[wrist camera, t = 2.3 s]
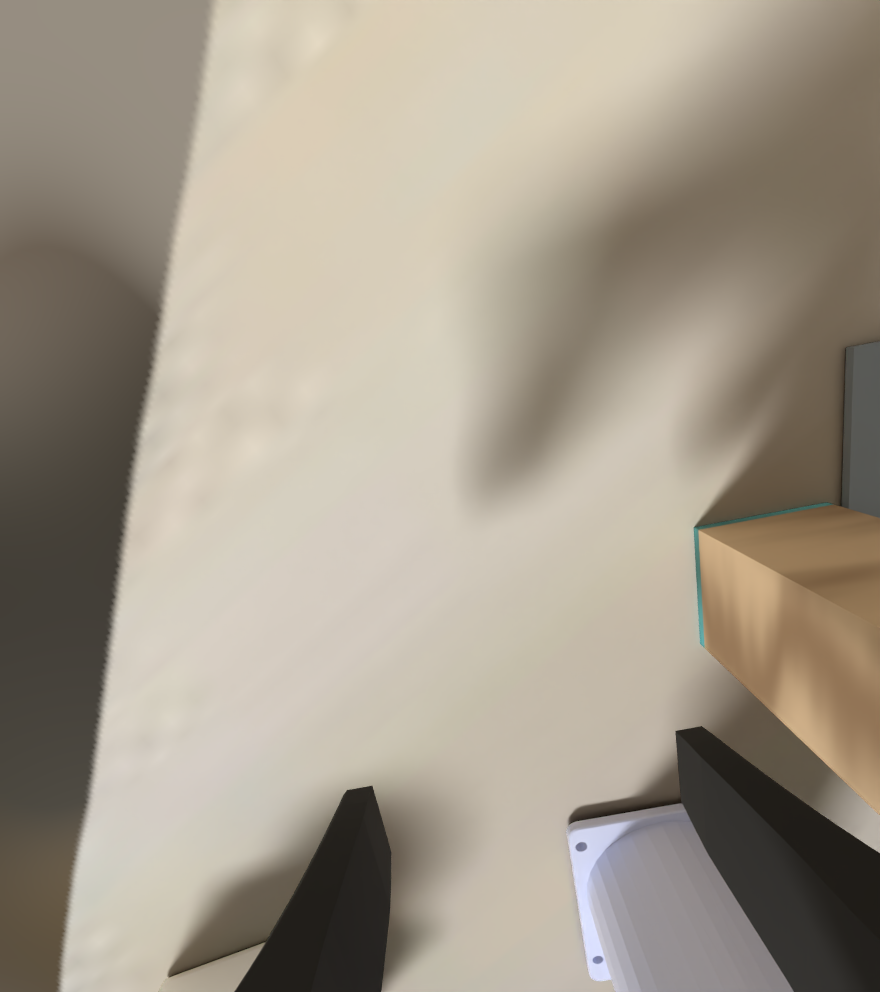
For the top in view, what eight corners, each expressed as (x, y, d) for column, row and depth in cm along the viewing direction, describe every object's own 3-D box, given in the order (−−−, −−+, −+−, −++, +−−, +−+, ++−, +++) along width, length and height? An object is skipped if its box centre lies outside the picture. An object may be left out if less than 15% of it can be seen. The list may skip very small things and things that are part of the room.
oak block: (824, 620, 18) (1194, 842, 9) (700, 643, 18) (952, 883, 9) (826, 502, 17) (1255, 630, 8) (693, 527, 17) (975, 679, 8)
